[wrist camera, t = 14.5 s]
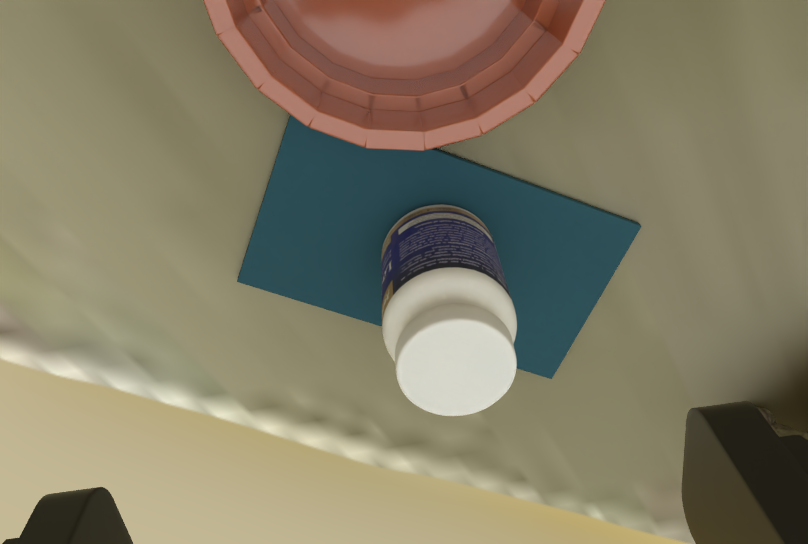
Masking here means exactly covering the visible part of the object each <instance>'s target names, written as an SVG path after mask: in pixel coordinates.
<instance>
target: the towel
mask: <svg viewBox="0 0 808 544" xmlns="http://www.w3.org/2000/svg"><path fill="white" fill-rule="evenodd" d="M440 204H444V205H452V206H456V207H459V208H462V209H465V210H467V211H469V212H470V213H472V214H474V215H475V216H476V217H478V218H479V219H480V220H481V221H482V222H483V223H484V225H485V226H486V227H487V229H488V230H489V232H490V234H491V236H492V238H493V241H494V244H495V247H496V250H497V254H498V257H499V260H500V264H501V267H502V270H503V274H504V277H505V280H506V283H507V286H508V290H509V293H510V296H511V299H512V302H513V305H514V308H515V313H516V319H517V332H516V337H515V341H514V344H513V345H514V349H515V354H516V359H517V367H516V368H518V369H521V370H525V371H528V372H531V373H534V374H538V375H541V376H544V377H547V378H550V379H552V377H553V376H554V374H555V372H556V371H557V369H558V367H559V365H560V364H561V362H562V360H563V359H564V357H565V355H566V354H567V352H568V350H569V348H570V347H571V345H572V343H573V342H574V340H575V338H576V337H577V335H578V333H579V331H580V330H581V328H582V326H583V325H584V323H585V321H586V320H587V318H588V316H589V314H590V313H591V311H592V309H593V308H594V306H595V304H596V303H597V301H598V299H599V297H600V296H601V294H602V292H603V291H604V289H605V287H606V286H607V284H608V282H609V281H610V279H611V277H612V275H613V274H614V272H615V270H616V269H617V267H618V265H619V264H620V262H621V260H622V258H623V257H624V255H625V253H626V252H627V250H628V248H629V247H630V245H631V243H632V241H633V240H634V238H635V236H636V235H637V233H638V231H639V230H640V228H641V225H640V224H639V223H637V222H635V221H632V220H629V219H626V218H624V217H621V216H618V215H616V214H613V213H610V212H607V211H605V210H602V209H599V208H596V207H594V206H591V205H588V204H586V203H583V202H580V201H577V200H575V199H572V198H569V197H567V196H564V195H561V194H558V193H556V192H553V191H550V190H548V189H545V188H542V187H539V186H537V185H534V184H531V183H528V182H526V181H523V180H520V179H518V178H515V177H512V176H509V175H507V174H504V173H501V172H499V171H496V170H493V169H490V168H488V167H485V166H482V165H479V164H477V163H474V162H471V161H469V160H466V159H463V158H460V157H458V156H455V155H452V154H450V153H447V152H444V151H441V150H439V149H436V148H433V149H429V150H425V151H413V150H390V149H368V148H365V147H361V146H358V145H355V144H353V143H350V142H347V141H344V140H342V139H339V138H336V137H333V136H330V135H328V134H325V133H322V132H319V131H317V130H314V129H311V128H310V127H309V126H308V127H307V126H305V125H304V124H303V123H301V122H300V121H299V120H297V119H296V118H295V117H293V116H292V115H290V118H289V121H288V124H287V127H286V130H285V133H284V136H283V139H282V143H281V146H280V149H279V152H278V155H277V158H276V161H275V164H274V168H273V171H272V174H271V177H270V180H269V183H268V186H267V189H266V193H265V196H264V199H263V202H262V205H261V208H260V211H259V214H258V217H257V221H256V224H255V227H254V230H253V233H252V236H251V239H250V242H249V246H248V249H247V252H246V255H245V258H244V261H243V264H242V267H241V271H240V274H239V277H238V280H237V282H240V283H243V284H246V285H250V286H253V287H256V288H259V289H263V290H266V291H269V292H272V293H276V294H279V295H282V296H285V297H288V298H292V299H295V300H298V301H301V302H305V303H308V304H311V305H314V306H318V307H321V308H324V309H327V310H331V311H334V312H337V313H340V314H343V315H347V316H350V317H353V318H356V319H360V320H363V321H366V322H369V323H373V324H376V325H379V326H382V295H381V255H382V248H383V244H384V241H385V239H386V237H387V235H388V233H389V231H390V230H391V228H392V227H393V226H394V225H395V224H396V223H397V222H398V221H399V220H400V219H401V218H402V217H403V216H405V215H406V214H408V213H409V212H411V211H413V210H416V209H418V208H421V207H424V206H429V205H440Z"/></svg>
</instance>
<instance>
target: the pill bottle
mask: <svg viewBox="0 0 808 544" xmlns="http://www.w3.org/2000/svg"><path fill="white" fill-rule="evenodd" d="M381 295H382V331H383V338H384V342H385V345H386V348H387V350H388V352H389V354H390V356H391V357H392V359H393V360H394V362H395V367H396V376H397V380H398V383H399V386H400V388H401V390H402V391H403V393H404V394H405V395H406V397H407V398H408V399H409V400H410V401H411V402H412V403H414V404H415V405H417V406H418V407H420V408H421V409H423V410H425V411H428V412H431V413H434V414H438V415H444V416H462V415H468V414H472V413H475V412H478V411H481V410H483V409H485V408H487V407H489V406H491V405H492V404H494V403H495V402H496V401H497V400H499V399H500V398H501V397H502V396H503V395H504V394H505V393H506V392H507V391H508V389H509V387H510V386H511V384H512V382H513V380H514V377H515V373H516V367H517V359H516V354H515V349H514V345H513V344H514V341H515V337H516V332H517V319H516V313H515V308H514V305H513V302H512V299H511V296H510V293H509V290H508V286H507V283H506V280H505V277H504V274H503V270H502V267H501V264H500V260H499V257H498V254H497V250H496V247H495V244H494V241H493V238H492V236H491V234H490V232H489V230H488V229H487V227H486V226H485V225H484V223H483V222H482V221H481V220H480V219H479V218H478V217H476V216H475V215H474V214H472V213H470V212H469V211H467V210H465V209H462V208H459V207H456V206H452V205H444V204H440V205H429V206H424V207H421V208H418V209H416V210H413V211H411V212H409V213H408V214H406V215H405V216H403V217H402V218H401V219H400V220H399V221H398V222H397V223H396V224H395V225H394V226H393V227H392V228H391V230H390V231H389V233H388V235H387V237H386V239H385V241H384V244H383V248H382V255H381Z"/></svg>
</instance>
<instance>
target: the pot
mask: <svg viewBox="0 0 808 544" xmlns="http://www.w3.org/2000/svg"><path fill="white" fill-rule="evenodd" d="M203 1H204V4H205V6H206V9H207V12H208V14H209V17H210V20H211V22H212V25H213V28H214V30H215V33H216V35H217V36H218V38H219V39H220V41H221V42H222V43H223V45H224V46H225V47H226V49H227V50H228V51H229V53H230V54H231V55H232V57H233V58H234V59H235V61H236V62H237V63H238V65H239V66H240V67H241V69H242V70H243V71H244V73H245V74H246V75H247V77H248V78H249V79H250V81H251V82H252V84H253V85H254V86H255V88H257V89H258V90H259V91H260V92H261V93H262V94H264V95H265V96H266V97H268V98H269V99H270V100H272V101H273V102H274V103H276V104H277V105H279V106H280V107H281V108H283V109H284V110H285V111H287V112H288V113H289V114H291V115H292V116H293V117H295V118H296V119H297V120H299V121H300V122H301V123H303V124H304V125H305V126H307V127H308V126H309V127H310V128H311V129H314V130H317V131H319V132H322V133H325V134H328V135H330V136H333V137H336V138H339V139H342V140H344V141H347V142H350V143H353V144H355V145H358V146H361V147H365V148H368V149H390V150H413V151H425V150H429V149H433V148H437V147H441V146H445V145H448V144H452V143H456V142H460V141H464V140H467V139H471V138H475V137H479V136H481V135H482V134H486V133H487V132H489V131H491V130H492V129H494V128H496V127H497V126H499V125H500V124H502V123H504V122H505V121H507V120H508V119H510V118H512V117H513V116H515V115H517V114H518V113H520V112H521V111H523V110H525V109H526V108H528V107H530V106H531V105H533V104H534V103H535V102H536V101H538V100H539V99H540V97H541V96H542V95H543V94H544V93H545V92H546V91H547V90H548V89H549V87H550V86H551V85H552V84H553V83H554V82H555V81H556V80H557V79H558V77H559V76H560V75H561V74H562V73H563V72H564V71H565V70H566V68H567V67H568V66H569V65H570V64H571V63H572V62H573V61H574V60H575V58H576V57H577V56H578V54H580V53H581V51H582V49H583V46H584V44H585V42H586V40H587V38H588V36H589V34H590V32H591V30H592V28H593V26H594V24H595V22H596V20H597V18H598V16H599V14H600V12H601V10H602V7H603V5H604V3H605V1H606V0H203Z"/></svg>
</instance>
